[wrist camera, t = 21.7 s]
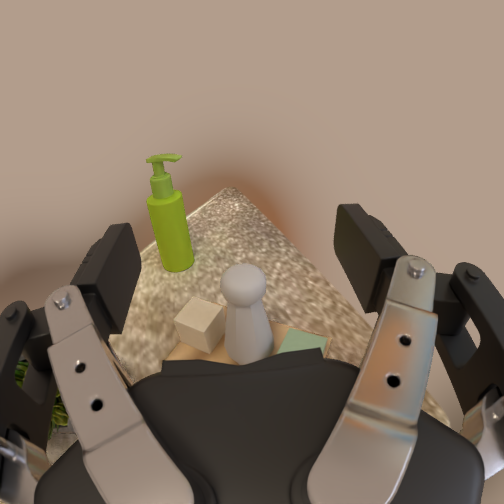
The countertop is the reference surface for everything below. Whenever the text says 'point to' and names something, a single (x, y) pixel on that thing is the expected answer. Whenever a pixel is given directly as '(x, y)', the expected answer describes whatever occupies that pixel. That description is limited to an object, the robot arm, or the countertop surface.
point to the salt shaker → (246, 314)
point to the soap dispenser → (169, 217)
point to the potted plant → (59, 414)
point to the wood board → (219, 351)
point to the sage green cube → (301, 341)
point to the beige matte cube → (200, 324)
